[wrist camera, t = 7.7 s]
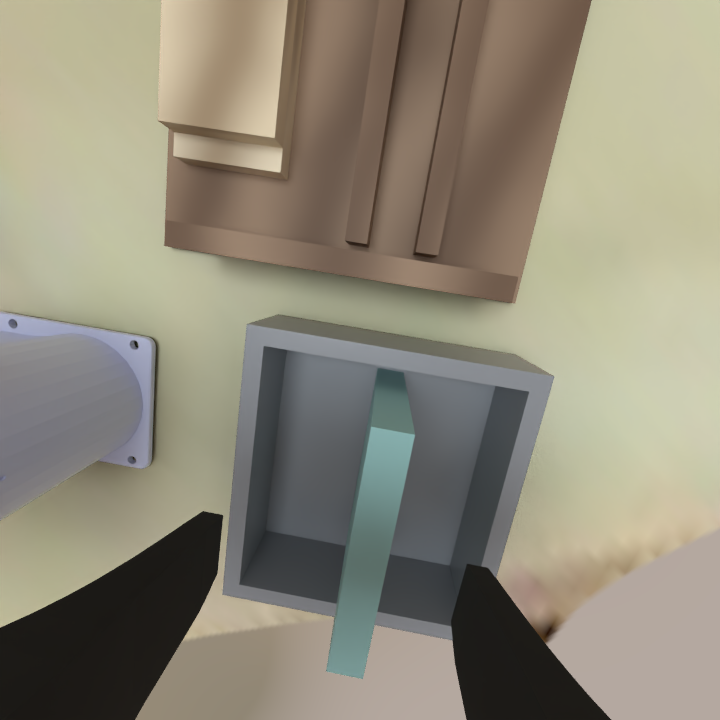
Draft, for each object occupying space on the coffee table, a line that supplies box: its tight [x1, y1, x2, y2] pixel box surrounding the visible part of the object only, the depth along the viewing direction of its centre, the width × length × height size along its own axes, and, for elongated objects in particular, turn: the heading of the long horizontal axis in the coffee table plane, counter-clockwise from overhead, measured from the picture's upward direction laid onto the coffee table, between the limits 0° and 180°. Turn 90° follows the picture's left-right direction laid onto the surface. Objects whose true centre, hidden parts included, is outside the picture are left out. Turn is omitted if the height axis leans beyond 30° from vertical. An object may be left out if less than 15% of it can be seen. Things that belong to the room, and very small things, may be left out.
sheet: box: [326, 368, 415, 679], centre depth 16 cm, size 1×10×8 cm, turn 171°
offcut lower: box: [173, 0, 306, 180], centre depth 16 cm, size 5×9×1 cm, turn 171°
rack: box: [164, 0, 592, 303], centre depth 15 cm, size 18×18×5 cm
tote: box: [222, 315, 554, 640], centre depth 19 cm, size 13×14×4 cm
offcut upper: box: [158, 0, 298, 148], centre depth 15 cm, size 5×9×1 cm, turn 171°
